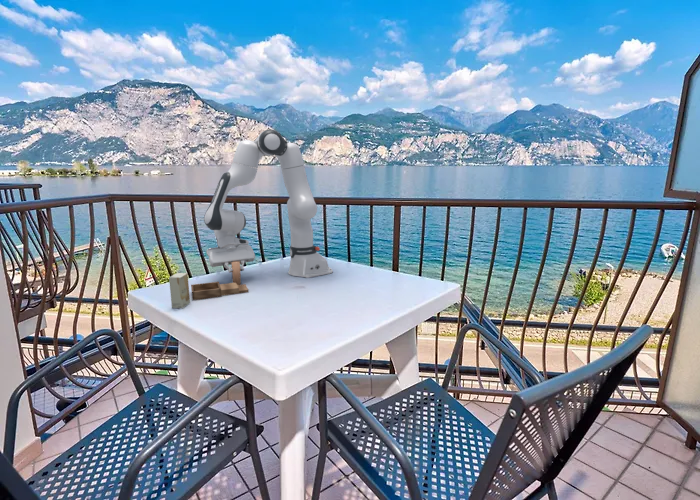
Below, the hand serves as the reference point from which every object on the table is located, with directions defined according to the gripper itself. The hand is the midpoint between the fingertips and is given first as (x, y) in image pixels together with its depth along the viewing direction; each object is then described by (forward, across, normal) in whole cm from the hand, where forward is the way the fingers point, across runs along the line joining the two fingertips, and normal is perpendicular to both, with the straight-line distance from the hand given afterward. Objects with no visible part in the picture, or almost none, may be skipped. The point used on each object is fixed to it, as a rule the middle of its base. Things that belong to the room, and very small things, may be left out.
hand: (236, 271), depth 158 cm
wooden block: (+4, 0, +5) cm, 6 cm away
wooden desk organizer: (+9, -10, 0) cm, 13 cm away
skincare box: (+14, -26, -5) cm, 30 cm away
